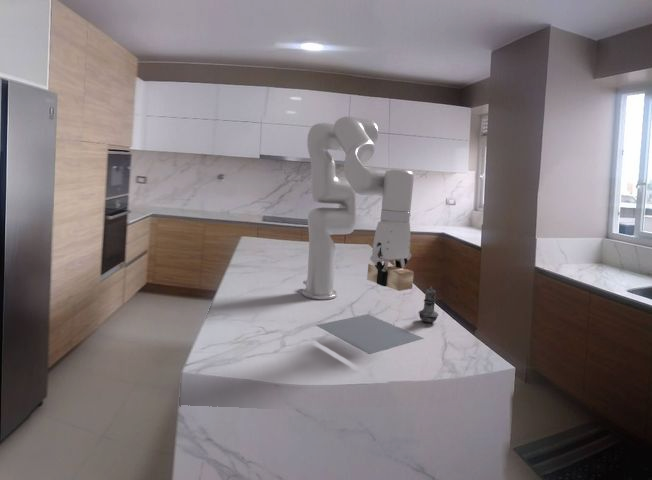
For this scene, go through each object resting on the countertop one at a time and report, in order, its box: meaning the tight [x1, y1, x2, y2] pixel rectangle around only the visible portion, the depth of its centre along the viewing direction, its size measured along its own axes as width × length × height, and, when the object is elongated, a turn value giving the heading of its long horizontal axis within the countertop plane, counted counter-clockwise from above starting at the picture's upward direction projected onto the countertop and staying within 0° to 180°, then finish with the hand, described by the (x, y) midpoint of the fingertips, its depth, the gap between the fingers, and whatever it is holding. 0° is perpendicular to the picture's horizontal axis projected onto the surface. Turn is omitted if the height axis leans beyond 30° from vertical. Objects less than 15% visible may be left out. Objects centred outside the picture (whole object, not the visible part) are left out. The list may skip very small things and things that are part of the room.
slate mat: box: [316, 314, 424, 355], centre depth 112 cm, size 22×20×1 cm
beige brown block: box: [366, 262, 415, 292], centre depth 110 cm, size 12×5×5 cm, turn 38°
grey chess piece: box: [418, 285, 439, 325], centre depth 122 cm, size 6×6×12 cm
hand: (389, 283), depth 110 cm, fingers closed on beige brown block, 5 cm apart
